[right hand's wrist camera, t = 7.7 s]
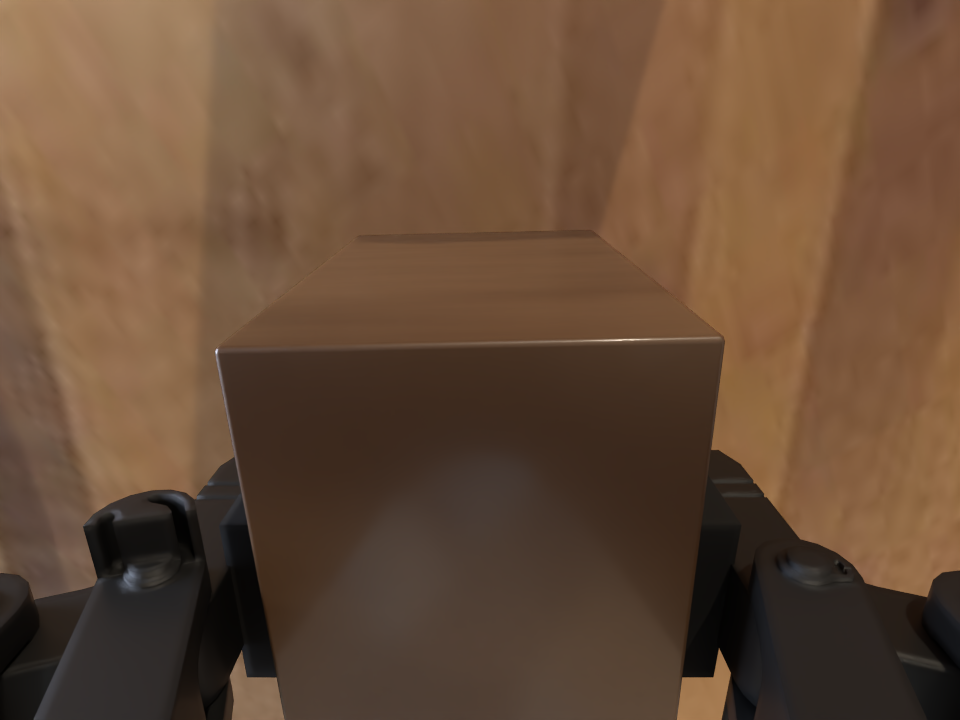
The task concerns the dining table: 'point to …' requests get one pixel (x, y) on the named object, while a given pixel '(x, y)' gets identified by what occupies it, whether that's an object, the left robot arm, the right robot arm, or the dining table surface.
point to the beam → (475, 478)
